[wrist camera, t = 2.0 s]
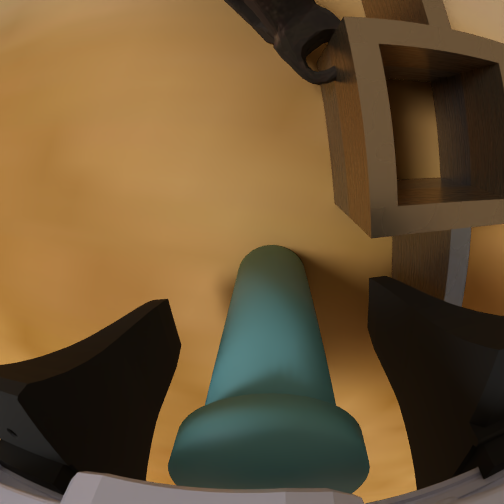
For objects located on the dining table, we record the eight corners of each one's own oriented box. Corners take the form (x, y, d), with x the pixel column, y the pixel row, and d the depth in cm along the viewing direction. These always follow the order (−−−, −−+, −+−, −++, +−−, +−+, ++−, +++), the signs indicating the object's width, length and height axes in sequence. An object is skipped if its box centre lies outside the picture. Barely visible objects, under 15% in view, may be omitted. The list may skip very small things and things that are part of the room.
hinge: (445, 307, 14) (492, 363, 9) (339, 326, 14) (362, 398, 10) (411, -35, 8) (453, -81, 3) (292, -45, 9) (299, -111, 4)
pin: (316, 309, 14) (356, 506, 5) (236, 317, 15) (198, 513, 5) (311, 231, 13) (384, 414, 4) (222, 241, 13) (137, 425, 4)
